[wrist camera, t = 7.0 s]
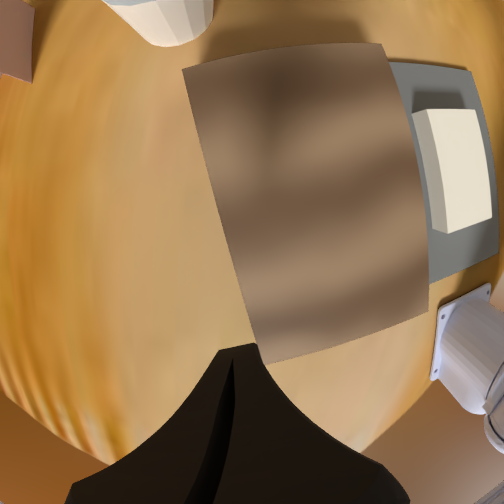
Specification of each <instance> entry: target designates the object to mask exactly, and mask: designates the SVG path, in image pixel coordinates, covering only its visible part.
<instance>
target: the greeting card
mask: <svg viewBox="0 0 504 504" xmlns="http://www.w3.org/2000/svg"><path fill="white" fill-rule="evenodd" d="M34 14H35V9H34V8H33V7H31V6H30V5H29V4H27V3H26V2H24V1H23V0H0V78H1V75H2V73H3V74H6V75H9V76H12V77H15V78H17V79H20V80H23V81H26V82H29V83H31V84H32V37H33V24H34Z"/></svg>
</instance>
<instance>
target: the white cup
mask: <svg viewBox="0 0 504 504" xmlns="http://www.w3.org/2000/svg"><path fill="white" fill-rule="evenodd" d="M102 1H103V2H105V3H106V4H107V5H108V6H109V7H110V8H111V9H113V10H114V11H115V12H116V13H117V14H118V15H119V16H120V17H122V18H123V19H124V20H125V21H126V22H127V23H128V24H129V25H130V26H131V27H132V28H134V29H135V30H136V31H137V32H138V33H139V34H140V35H141V36H142V37H143V38H144V39H145V40H147V41H148V42H150V43H151V44H152V45H157V46H162V47H170V46H178V45H182V44H184V43H187V42H189V41H192V40H194V39H195V38H197V37H198V36H199V35H201V34H202V33H203V32H205V31H206V30H207V28H208V26H209V25H210V23H211V22H212V20H213V3H214V0H102Z"/></svg>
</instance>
